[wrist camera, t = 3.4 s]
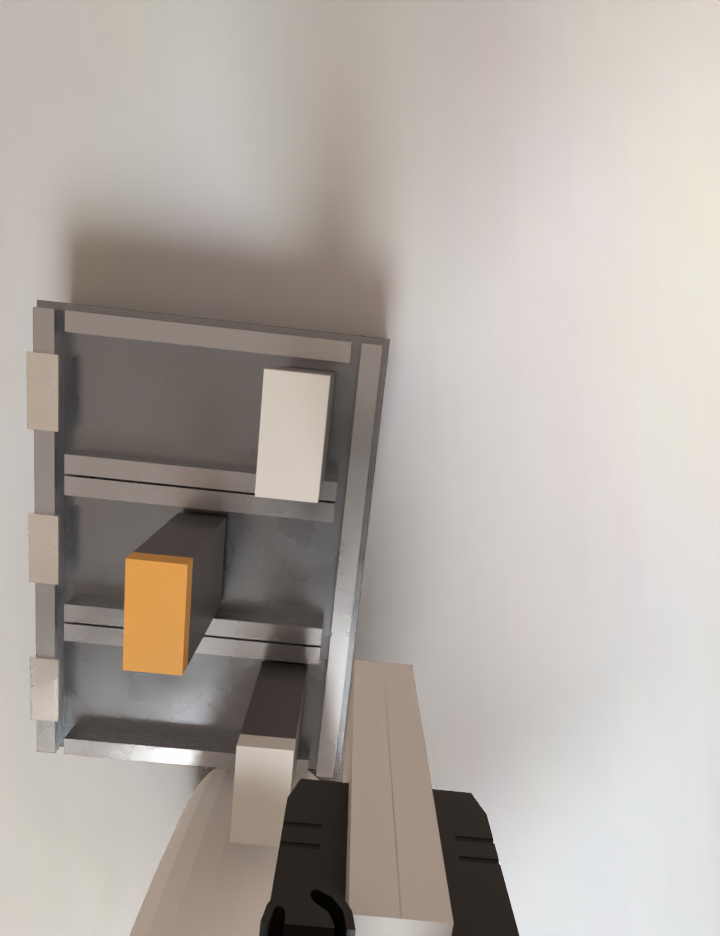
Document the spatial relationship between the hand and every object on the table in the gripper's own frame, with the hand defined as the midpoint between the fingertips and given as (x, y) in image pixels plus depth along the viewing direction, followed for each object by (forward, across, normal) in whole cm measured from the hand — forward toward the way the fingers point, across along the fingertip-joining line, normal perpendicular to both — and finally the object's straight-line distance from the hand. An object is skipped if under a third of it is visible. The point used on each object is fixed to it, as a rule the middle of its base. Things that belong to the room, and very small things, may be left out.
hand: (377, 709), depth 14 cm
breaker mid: (+9, -7, 0) cm, 12 cm away
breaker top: (+10, -3, +6) cm, 12 cm away
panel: (+12, -7, 0) cm, 14 cm away
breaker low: (+9, -3, -7) cm, 12 cm away
